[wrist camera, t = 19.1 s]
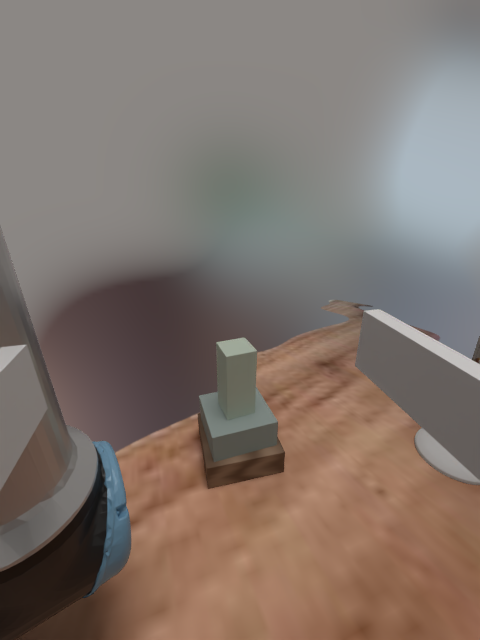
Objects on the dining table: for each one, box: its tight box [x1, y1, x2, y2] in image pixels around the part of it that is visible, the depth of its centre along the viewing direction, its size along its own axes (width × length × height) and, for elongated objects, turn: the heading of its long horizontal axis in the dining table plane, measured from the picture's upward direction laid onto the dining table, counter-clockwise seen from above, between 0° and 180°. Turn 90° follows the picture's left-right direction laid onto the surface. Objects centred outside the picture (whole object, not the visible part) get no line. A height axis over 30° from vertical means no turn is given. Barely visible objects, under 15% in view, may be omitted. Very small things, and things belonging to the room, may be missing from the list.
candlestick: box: [415, 360, 480, 485], centre depth 48 cm, size 13×13×30 cm
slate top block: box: [199, 388, 278, 462], centre depth 53 cm, size 11×11×5 cm
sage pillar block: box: [216, 338, 257, 420], centre depth 50 cm, size 5×5×12 cm
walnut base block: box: [198, 413, 285, 489], centre depth 55 cm, size 13×13×5 cm
